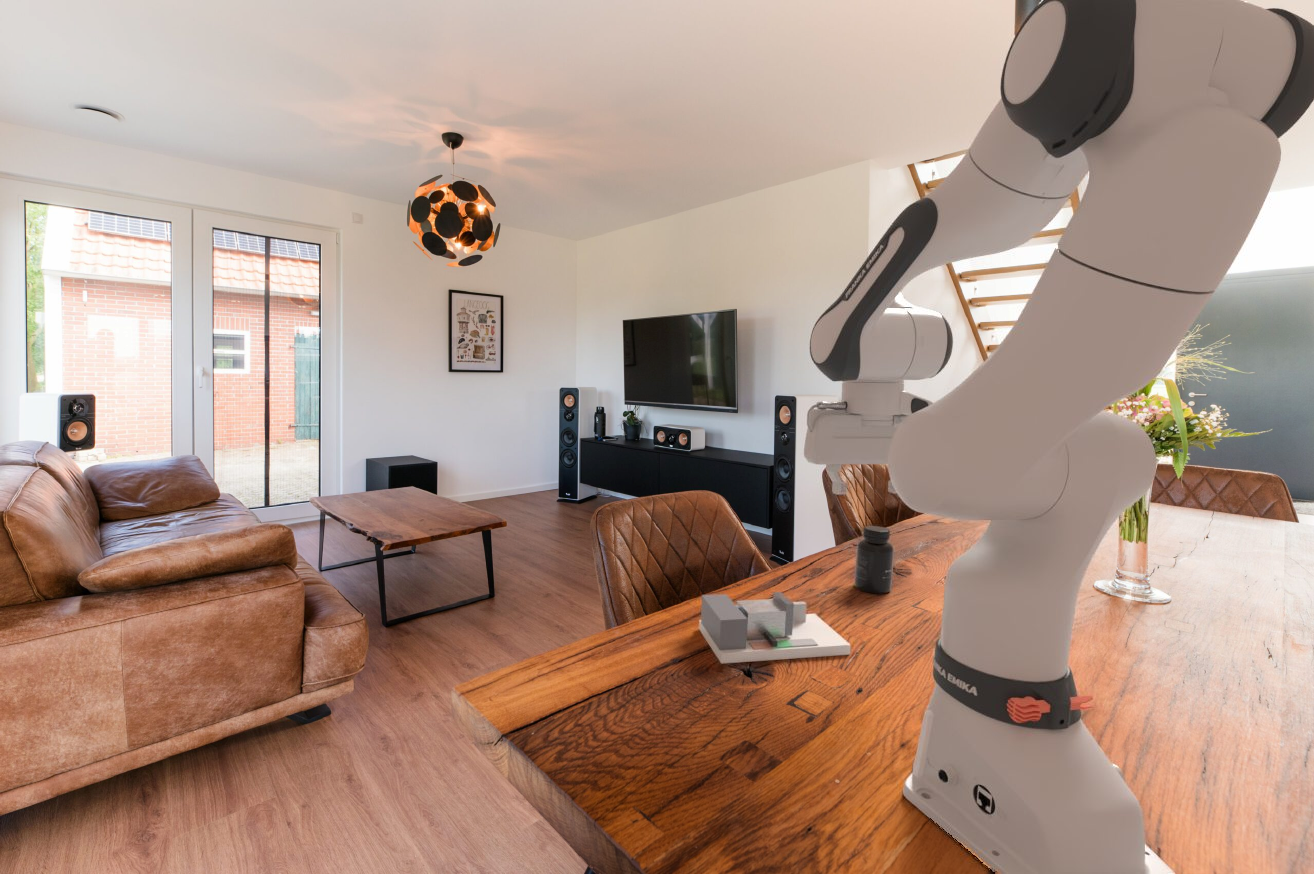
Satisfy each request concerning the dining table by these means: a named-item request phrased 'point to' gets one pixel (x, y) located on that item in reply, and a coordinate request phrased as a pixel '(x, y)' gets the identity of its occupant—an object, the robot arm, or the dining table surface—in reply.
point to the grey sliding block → (768, 617)
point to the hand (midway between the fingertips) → (867, 493)
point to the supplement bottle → (874, 561)
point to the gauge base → (731, 645)
